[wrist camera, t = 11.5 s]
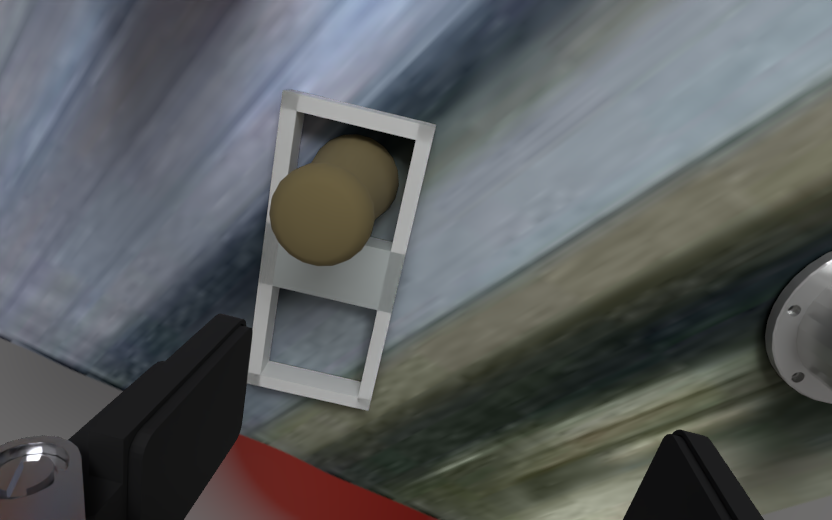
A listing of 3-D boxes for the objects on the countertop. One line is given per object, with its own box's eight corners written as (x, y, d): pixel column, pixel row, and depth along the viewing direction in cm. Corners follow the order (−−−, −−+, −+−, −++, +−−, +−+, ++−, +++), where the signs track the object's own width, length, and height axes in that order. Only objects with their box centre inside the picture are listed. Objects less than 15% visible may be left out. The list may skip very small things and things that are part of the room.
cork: (360, 239, 35) (325, 306, 25) (293, 182, 34) (226, 228, 24) (417, 176, 33) (404, 221, 23) (348, 114, 32) (301, 131, 22)
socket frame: (436, 124, 32) (435, 127, 30) (371, 394, 39) (368, 410, 38) (292, 89, 32) (282, 90, 30) (255, 368, 39) (245, 382, 37)
